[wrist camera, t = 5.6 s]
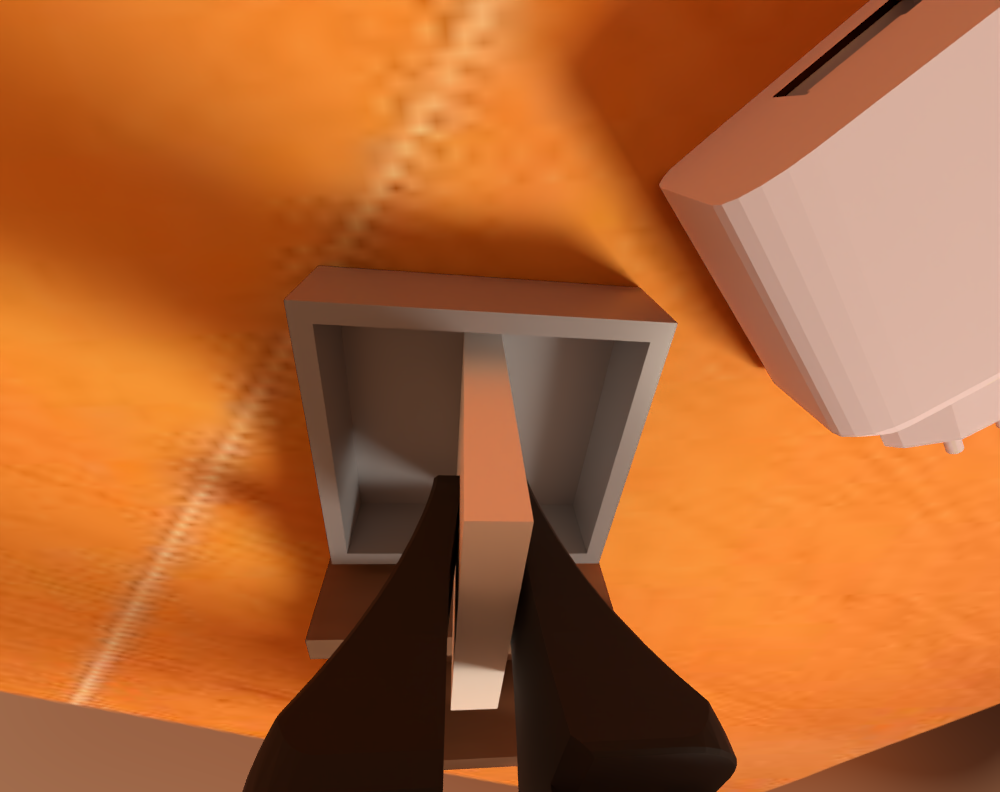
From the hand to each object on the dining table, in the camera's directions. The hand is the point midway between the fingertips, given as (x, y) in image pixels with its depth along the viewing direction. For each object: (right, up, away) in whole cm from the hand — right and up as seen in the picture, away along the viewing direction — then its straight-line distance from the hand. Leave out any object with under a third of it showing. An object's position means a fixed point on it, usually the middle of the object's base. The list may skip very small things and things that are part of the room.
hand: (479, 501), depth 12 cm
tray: (0, +3, +4) cm, 5 cm away
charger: (+13, +8, +2) cm, 15 cm away
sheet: (0, +2, +4) cm, 4 cm away
